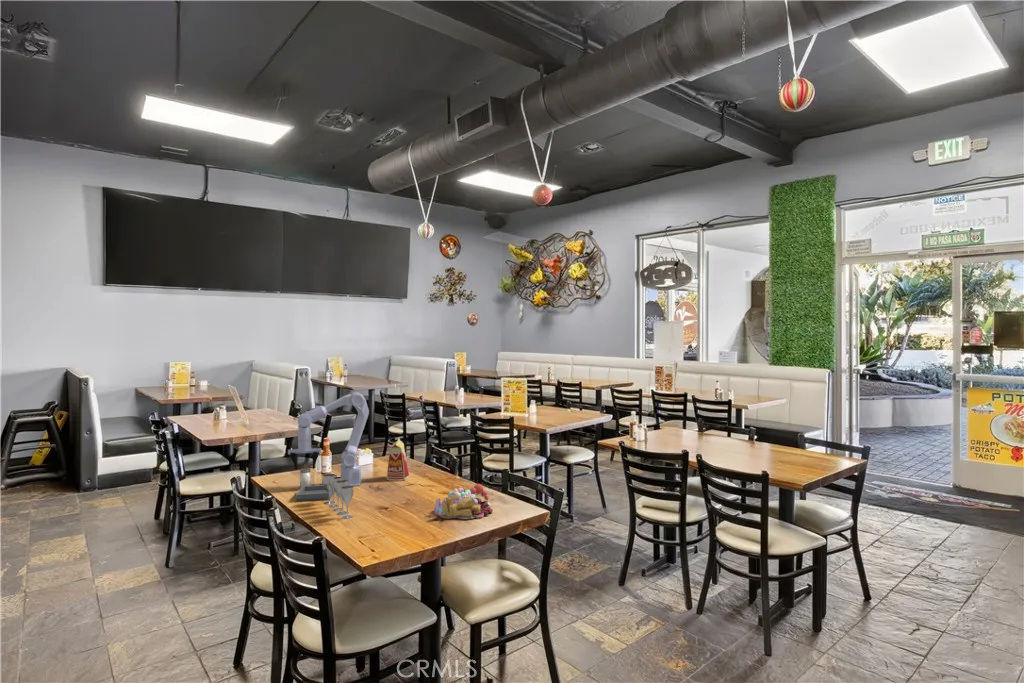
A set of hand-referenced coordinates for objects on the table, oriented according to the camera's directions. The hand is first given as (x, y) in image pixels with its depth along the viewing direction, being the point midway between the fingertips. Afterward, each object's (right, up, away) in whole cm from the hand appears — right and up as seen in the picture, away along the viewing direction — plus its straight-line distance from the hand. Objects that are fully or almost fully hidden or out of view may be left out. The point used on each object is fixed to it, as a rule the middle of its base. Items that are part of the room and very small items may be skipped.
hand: (305, 468), depth 254 cm
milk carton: (+40, -9, +17) cm, 44 cm away
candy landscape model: (+77, -10, -32) cm, 84 cm away
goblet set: (+25, -10, -30) cm, 41 cm away
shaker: (0, -9, 0) cm, 9 cm away
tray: (+9, -9, -12) cm, 18 cm away
